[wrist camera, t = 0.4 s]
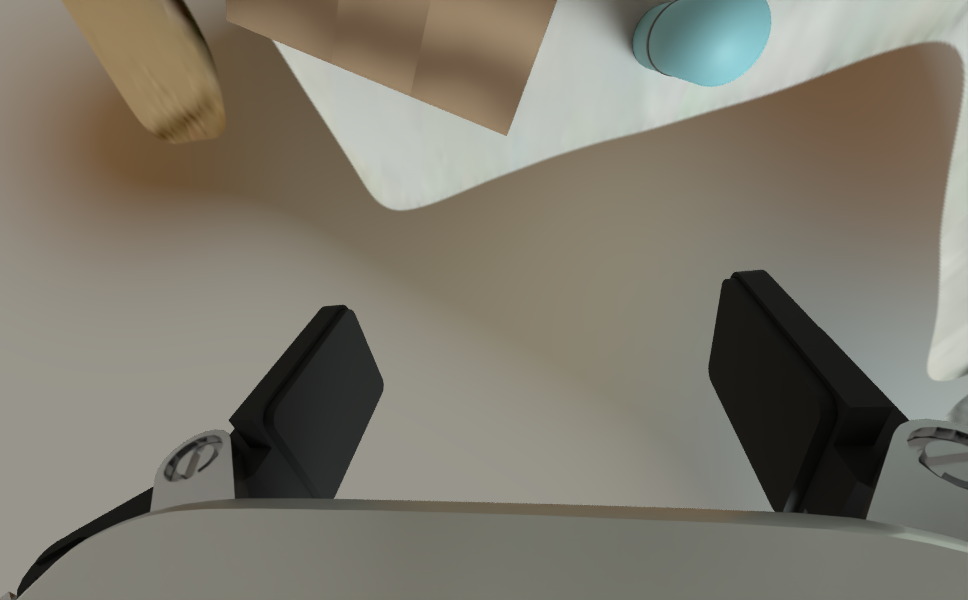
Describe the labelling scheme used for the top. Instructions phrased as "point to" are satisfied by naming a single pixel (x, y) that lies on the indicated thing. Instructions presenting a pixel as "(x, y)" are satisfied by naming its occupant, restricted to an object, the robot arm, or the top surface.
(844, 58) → the top surface
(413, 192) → the top surface
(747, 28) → the peg
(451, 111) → the socket block
